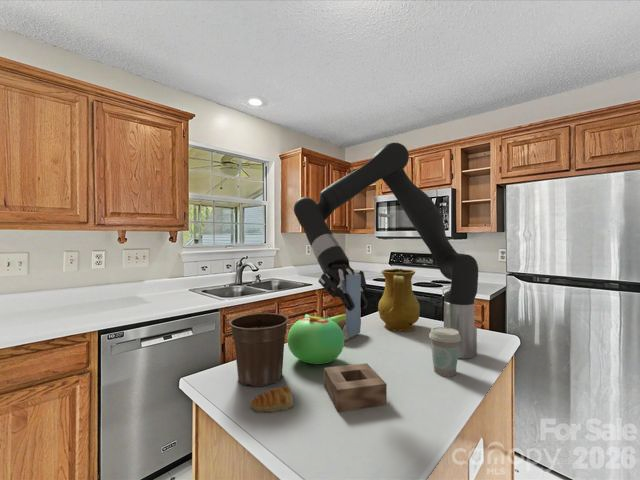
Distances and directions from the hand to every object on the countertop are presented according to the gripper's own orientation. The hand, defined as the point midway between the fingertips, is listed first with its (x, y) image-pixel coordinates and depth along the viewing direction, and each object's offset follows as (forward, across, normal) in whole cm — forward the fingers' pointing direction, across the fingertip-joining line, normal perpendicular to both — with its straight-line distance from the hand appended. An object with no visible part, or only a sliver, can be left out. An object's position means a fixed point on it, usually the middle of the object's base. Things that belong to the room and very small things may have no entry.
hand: (358, 307), depth 76 cm
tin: (-9, +26, +41) cm, 50 cm away
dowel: (+3, 0, +6) cm, 7 cm away
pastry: (+10, -18, +22) cm, 30 cm away
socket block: (+14, 0, +17) cm, 22 cm away
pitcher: (-9, +51, +40) cm, 66 cm away
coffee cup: (+18, +30, +14) cm, 38 cm away
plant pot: (-1, -15, +33) cm, 37 cm away
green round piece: (-2, +4, +34) cm, 34 cm away
